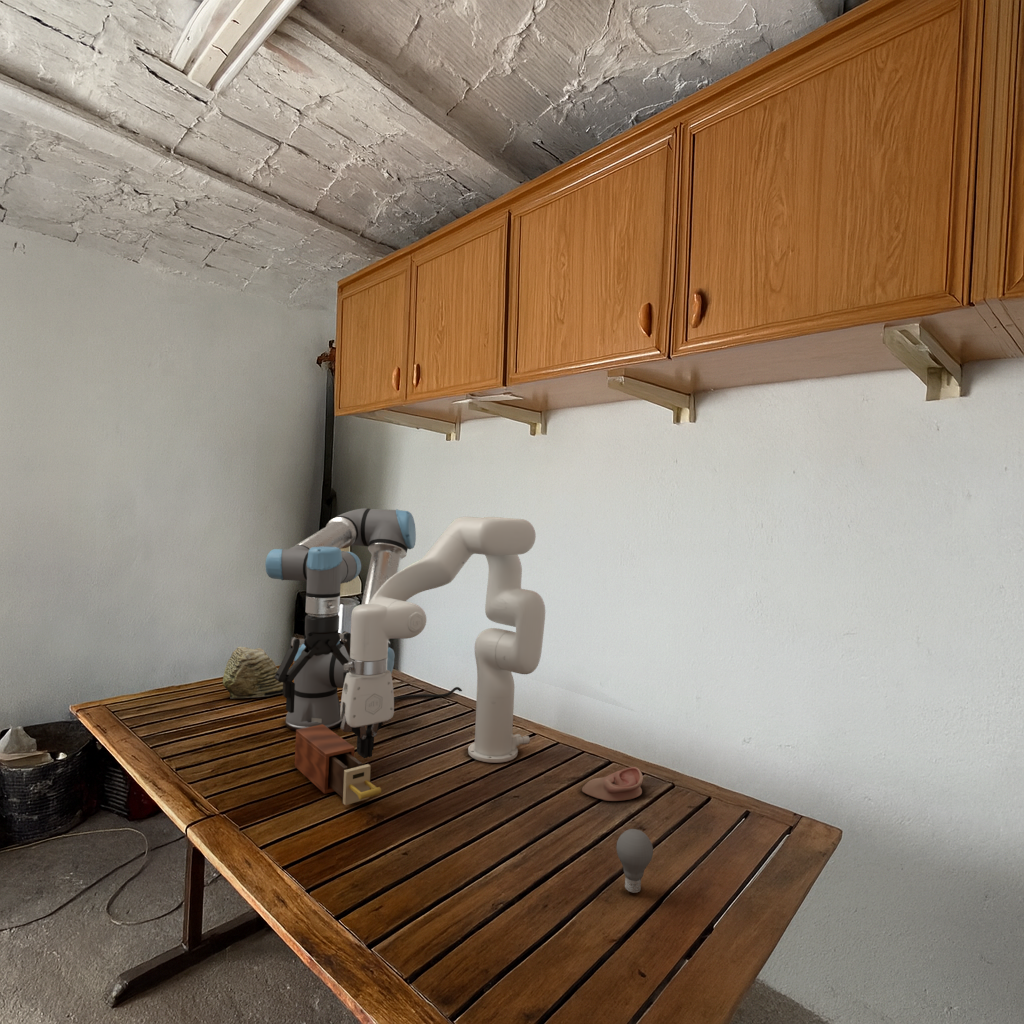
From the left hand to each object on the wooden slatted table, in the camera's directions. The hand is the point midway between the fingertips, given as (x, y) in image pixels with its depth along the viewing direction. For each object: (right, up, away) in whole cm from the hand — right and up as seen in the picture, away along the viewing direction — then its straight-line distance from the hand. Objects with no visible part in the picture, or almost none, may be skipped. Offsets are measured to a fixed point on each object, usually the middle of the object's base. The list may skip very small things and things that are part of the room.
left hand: (319, 705), depth 146 cm
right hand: (+15, -5, -17) cm, 23 cm away
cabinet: (+2, -15, -3) cm, 15 cm away
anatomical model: (+67, -18, -4) cm, 70 cm away
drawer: (+9, -15, -12) cm, 21 cm away
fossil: (-36, -13, +52) cm, 64 cm away
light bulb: (+65, -19, -41) cm, 79 cm away
